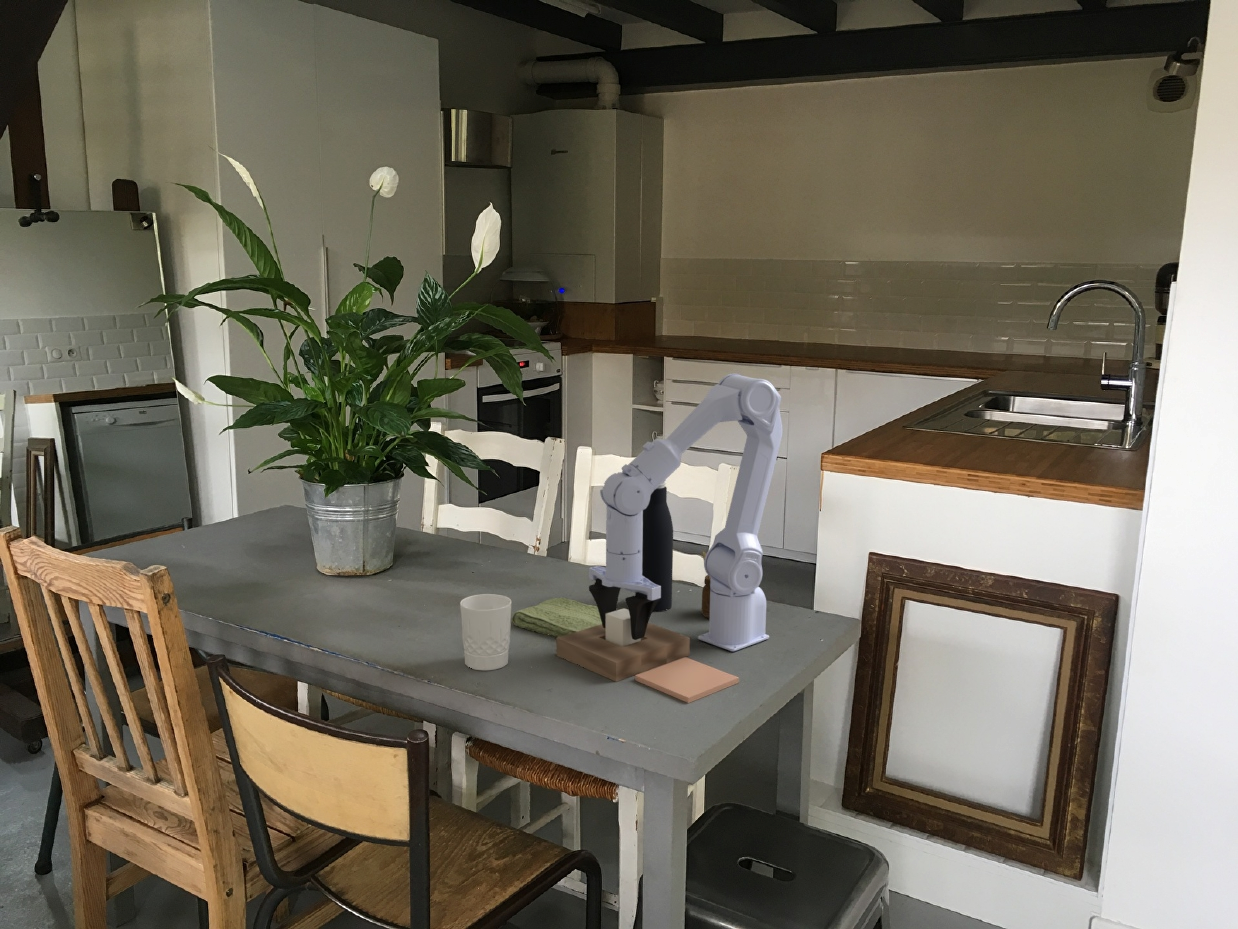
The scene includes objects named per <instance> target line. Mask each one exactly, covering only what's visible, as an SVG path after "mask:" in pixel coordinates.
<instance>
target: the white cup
mask: <svg viewBox="0 0 1238 929" xmlns="http://www.w3.org/2000/svg"><path fill="white" fill-rule="evenodd" d="M459 606H460V607H459V609H460V621H461V622H460V623H461V635H462V646H463V649H464V651H463V654H464V665H465V666H467V668H469V667H470V668H469V669H471V668H472V670H474V671H475V670H476V671H495V670H499V669H501V668H504V667H505V666H506V665H508V663H509V648H510V646H511V645H510V644H511V642H510V640H511V627H512V626H511V624H512V623H511V622H512V599H511V598H510V597H508V596H506V595H502V594H493V593H483V594H481V593H480V594H474V595H470V596H466V597H464V598H463V599H461V601H460V602H459Z"/></svg>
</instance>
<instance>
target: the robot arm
mask: <svg viewBox="0 0 1238 929" xmlns="http://www.w3.org/2000/svg"><path fill="white" fill-rule="evenodd" d="M781 401H782V396H781V394H780V393H779V392H778V391H777V389H776V388H775V386H774V385H773V384H772V383H771V382H770V381H768V380H767V379H764V378H755V377H750V376H745V375H741V374H739V373H729V374H726V375H725V376H723V377H722V378H721V379H720V380H719V381H718V383H716V384H715V385H713V386H712V387H711V388H709V390H708V392H707V394H706V395H705V397H704V399H703V400H702V401H700V403H698V405H697V406H696V407H695V408H694V409H693V410H692V411H691V413H689V414H688V415H687V416H686V418H684V420H683V421H682V422H681V423H680V424H679V425H678V426H677V427H676V428H675V429H674V430H673V431H672V432H671V433H670V434H669V435H668V436H667V438H664V439H663V438H661V439H660V438H656V439H653V441H651V442H650V441H646V443H644V444H643V445H642V448H643V450H642V451H641V452H640V453H639V454H638V455H637V456H636V457H634V459H633V460H632V461H630V463H628V464H626V463H625V464H623V466H621V472H616V473H612V474H611V475H609V476H608V477H607V478H606V480H605V481H604V483H603V486H602V489H600V490H599V494H600V498H601V499H602V500H601V501H602V502H603V503H604V504H605V506H606V521H605V525H606V526H605V567H604V566H600V565H596V566H595V565H594V566H591V567H589V568H588V579H589V580H590V581H595V582H594V584H590V585H589V586H588V590H589V593H590V594H591V596H592V598H593V599H594V601H595V604H596V607H598V610H599V614H600V618H601V622H602V626H603V628H605V629H606V614H607V613H610V612H613V611H617V610H618V600H619V596H620V591H621V589H622V590H625V591H628V592H631V593H634V594H635V595H632V596H628V597H625V598H624V600H625V603H626V606H627V608H628V609H627V610H629V614H630V620H631V635H632V639H634V640H637V639H640V638H643V637H644V636H645V632H646V628H647V625H648V623H649V622H650V619H651V616H652V614H653V612H654V611H653V610H654V608H655V606H656V604H657V603H658V601H659V599H660V598H661V586H659V585H656V584H654V583H653V582H651V581H650V580H648V579H647V578H645V577H644V576H642V541H643V510H644V509H646V508H647V506H648V504H649V501H650V496H651V494H652V492H653V491H654V490H655V489H656V488H657V487H658V486H659V485H661V484H662V483H663V482H664V481H665V480H666V481H667V479H668V478H669V477H670V476H671V475H672V474H673V473H674V472H675V471H676V470H677V469H678V468H680V466H681V462H682V455H683V454H684V453H686V451H687V450H688V449H689V448H691V447H692V446H693V445H694V444H696V442H698V441H699V440H700V439H701V438H703V436H705V435H706V434H707V433H709V431H711V430H712V429H713V428H714V427H716V425H718V424H720V423H726V422H737V423H738V424H739V426H740V427H741V429H742V430H743V431H744V433H745V434H746V440H745V442H744V443H745V444H744V448H743V451H742V452H743V453H742V456H741V460H740V463H739V464H740V465H739V468H738V471H737V472H738V473H737V476H736V480H735V485H734V489H733V491H732V492H733V493H732V497H731V502H730V505H729V510H728V512H727V517H726V521H725V527H724V528H722V530H721V531H719V532H718V533H717V534H716V535H715V536H714V540H713V544H712V545H711V547H710V548H709V549H708V551H707V552H706V553H707V554H706V556H705V555H704V556H705V559H703V568H704V571H705V573H706V574H707V575H709V576H710V577H711V579H710V618H708V620H709V626H708V627H709V628H708V632H706V633H703V634H700V635H698V636H697V639H698V640H700V641H703V642H706V643H708V644H710V645H713V646H716V647H719V648H722V649H725V650H726V651H727V650H728V651H730V652H736V651H738V650H742V649H745V648H746V647H750V646H751V645H755V644H758V643H761V642H763V641H765V640H768V639H770V635H769V634H766V625H767V624H766V623H767V619H766V618H767V598H766V595H765V593H764V591H763V589H762V587H759V586H760V584H761V582H762V580H763V573H764V572H763V567H762V558H763V554H764V552H763V548H762V546H761V544H760V541H759V538H758V534H759V532H760V531H759V530H760V527H761V523H762V518H763V514H764V510H765V506H766V503H767V498H768V494H769V490H770V487H771V486H770V485H771V482H772V479H773V473H774V471H775V470H774V469H775V466H776V462H777V457H778V454H779V449H780V446H781V443H782V437H783V432H784V429H783V423H782V416H781V411H780V410H781V409H780V405H781ZM666 481H665V482H666Z"/></svg>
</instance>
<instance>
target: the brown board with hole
mask: <svg viewBox="0 0 1238 929" xmlns="http://www.w3.org/2000/svg"><path fill="white" fill-rule="evenodd" d="M555 638H556V643H555V644H556V649H555V650H556V657H558V658H561V659H563V658H564V659H563V660H565V659H566V660H565V661H568V662H570V663H572V664H574V665H577V664H578V665H577V666H579V665H580V666H579V667H580V668H583V667H584V669H586V670H588V671H591V672H593V673H595V674H597V675H600V676H602V677H604V678H607V679H609V680H611V681H613V682H619V681H623V680H625V679H628V678H631V677H633V676H634V677H635V675H637V674H640V673H643V672H646V671H649V670H651V669H654V668H657V667H660V666H662V665H665V664H668V663H671V662H674V661H676V660H679V659H682V658H685V657H689V656H690V652H691V651H690V649H691V646H690V645H691V642H690V641H691V638H690V636H687V635H684V634H680V633H678V632H676V631H674V630H673V631H672V630H670V629H667V628H664V627H662V626H658V625H657V624H653V623H651V622H648V625H647V628H646V632H645V636H644V637H643V638H641V641H638V642H635V643H632V644H629V645H626V646H623V647H622V646H619V645H617V644H614V643H612V642H609V641H607V640H606V629H605V628H603V626H602V624H600V625H597V626H594V627H590V628H587V629H584V630H581V631H577V632H574V633H571V634H568V635H564V636H561V637H555Z"/></svg>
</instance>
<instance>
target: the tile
mask: <svg viewBox="0 0 1238 929" xmlns="http://www.w3.org/2000/svg"><path fill="white" fill-rule="evenodd" d="M634 680H635V682H638V683H641V684H643V685H645V686H648V687H650V688H652V689H655V690H658V691H659V692H661V693H664V694H666V695H669V696H671V697H674V698H676V699H678V700H679V701H683V702H685V703H687V704H690V703H692V702H695V701H697V700H700V699H702V698H705V697H706V696H710V695H712V694H714V693H717V692H720V691H722V690H724V689H727V688H729V687H732V686H734V685H736V684H737V685H738V684H739V683H740V677H738V676H736V675H734V674H731V673H727V672H725V671H723V670H720V669H717V668H715V667H713V666H709V665H707V664H705V663H703V662H699V661H696V660H695V659H691V658H689V657H688V656H686V657H683V658H681V659H678V660H675V661H672V662H670V663H667V664H664V665H661V666H659V667H656V668H653V669H650V670H647V671H645V672H642V673H639V674H636V675H634Z"/></svg>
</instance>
